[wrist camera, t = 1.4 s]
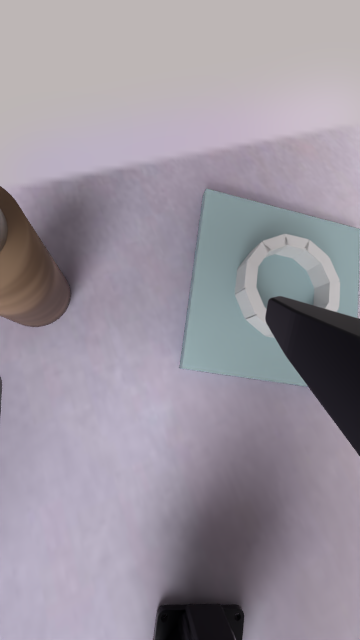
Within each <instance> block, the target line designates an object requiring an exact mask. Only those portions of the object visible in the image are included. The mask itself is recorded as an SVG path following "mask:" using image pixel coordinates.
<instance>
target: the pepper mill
mask: <svg viewBox="0 0 360 640" xmlns="http://www.w3.org/2000/svg"><path fill="white" fill-rule="evenodd" d="M69 302H70V287H69V284H68V282H67V280H66V279H65V277H64V276H63V274H62V272H61V271H60V269H59V268H58V266H57V265H56V263H55V261H54V260H53V258H52V257H51V255H50V254H49V252H48V251H47V249H46V247H45V246H44V244H43V243H42V241H41V240H40V238H39V236H38V235H37V233H36V232H35V230H34V229H33V227H32V226H31V224H30V222H29V221H28V219H27V218H26V216H25V215H24V213H23V211H22V210H21V208H20V207H19V205H18V204H17V202H16V201H15V199H14V198H13V197H12V196H11V195H10V194H9V193H8V192H7V191H6V190H5V189H3V188H2V187H1V186H0V316H2V317H4V318H7V319H9V320H12V321H14V322H17V323H19V324H22V325H25V326H30V327H40V326H45V325H48V324H51V323H53V322H54V321H56V320H57V319H59V318H60V317H61V316H62V315H63V314H64V312H65V311H66V309H67V308H68V305H69Z"/></svg>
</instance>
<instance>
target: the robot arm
mask: <svg viewBox="0 0 360 640" xmlns="http://www.w3.org/2000/svg"><path fill="white" fill-rule="evenodd" d="M265 320H266V323H267V325H268V327H269V329H270V331H271V332H272V334H273V336H274V337H275V339H276V341H277V342H278V344H279V346H280V348H281V349H282V351H283V353H284V354H285V356H286V357H287V359H288V360H289V361H290V363H291V364H292V365H293V367H294V368H295V370H296V371H297V372H298V374H299V375H300V376H301V378H302V379H303V380H304V382H305V383H306V384H307V386H308V387H309V388H310V390H311V391H312V392H313V394H314V395H315V396H316V398H317V399H318V400H319V402H320V403H321V405H322V406H323V407H324V409H325V410H326V411H327V413H328V414H329V415H330V417H331V418H332V419H333V421H334V422H335V423H336V425H337V426H338V427H339V429H340V430H341V431H342V433H343V434H344V435H345V437H346V438H347V440H348V441H349V442H350V444H351V445H352V446H353V448H354V449H355V450H356V452H357V453H358V454H359V456H360V319H359V318H355V317H352V316H349V315H345V314H342V313H338V312H335V311H331V310H328V309H324V308H321V307H317V306H314V305H311V304H307V303H304V302H300V301H297V300H293V299H290V298H286V297H283V296H277V297H272V298H270V299H269V300H268V304H267V310H266V316H265ZM1 395H2V380H1V377H0V414H1ZM237 613H239V614H238V615H237V616H235V615H236V614H237ZM163 614H167V615H166V616H165V617H161V616H162V615H163ZM243 624H244V613H243V611H242V609H241V607H240V606H239V605H220V604H189V605H164V606H161V607H160V608H159V609H158V611H157V615H156V623H155V630H154V638H153V640H242V636H243Z"/></svg>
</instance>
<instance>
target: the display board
mask: <svg viewBox="0 0 360 640" xmlns="http://www.w3.org/2000/svg"><path fill="white" fill-rule="evenodd" d="M359 249H360V229H358V228H354V227H351V226H347V225H343V224H339V223H335V222H332V221H328V220H324V219H320V218H316V217H313V216H309V215H305V214H301V213H297V212H294V211H290V210H286V209H282V208H278V207H275V206H271V205H267V204H263V203H259V202H256V201H252V200H248V199H244V198H240V197H237V196H233V195H229V194H225V193H221V192H218V191H214V190H210V189H206V190H205V192H204V194H203V199H202V206H201V214H200V221H199V228H198V236H197V243H196V250H195V258H194V265H193V272H192V279H191V287H190V294H189V301H188V309H187V316H186V323H185V330H184V338H183V345H182V352H181V360H180V367H179V368H181V369H188V370H195V371H202V372H208V373H215V374H222V375H229V376H236V377H243V378H250V379H257V380H264V381H271V382H278V383H285V384H292V385H299V386H306V387H308V386H307V384H306V383H305V382H304V380H303V379H302V378H301V376H300V375H299V374H298V372H297V371H296V370H295V368H294V367H293V365H292V364H291V363H290V361H289V360H288V359H287V357H286V356H285V354H284V353H283V351H282V349H281V348H280V346H279V344H278V342H277V341H276V339H275V337H274V336H273V334H272V332H271V331H270V329H269V327H268V325H267V323H266V320H265V316H266V310H267V304H268V300H269V299H270V298H272V297H277V296H283V297H286V298H290V299H293V300H297V301H300V302H304V303H307V304H311V305H314V306H317V307H321V308H324V309H328V310H331V311H335V312H338V313H342V314H345V315H349V316H352V317H355V318H358V291H359Z"/></svg>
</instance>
